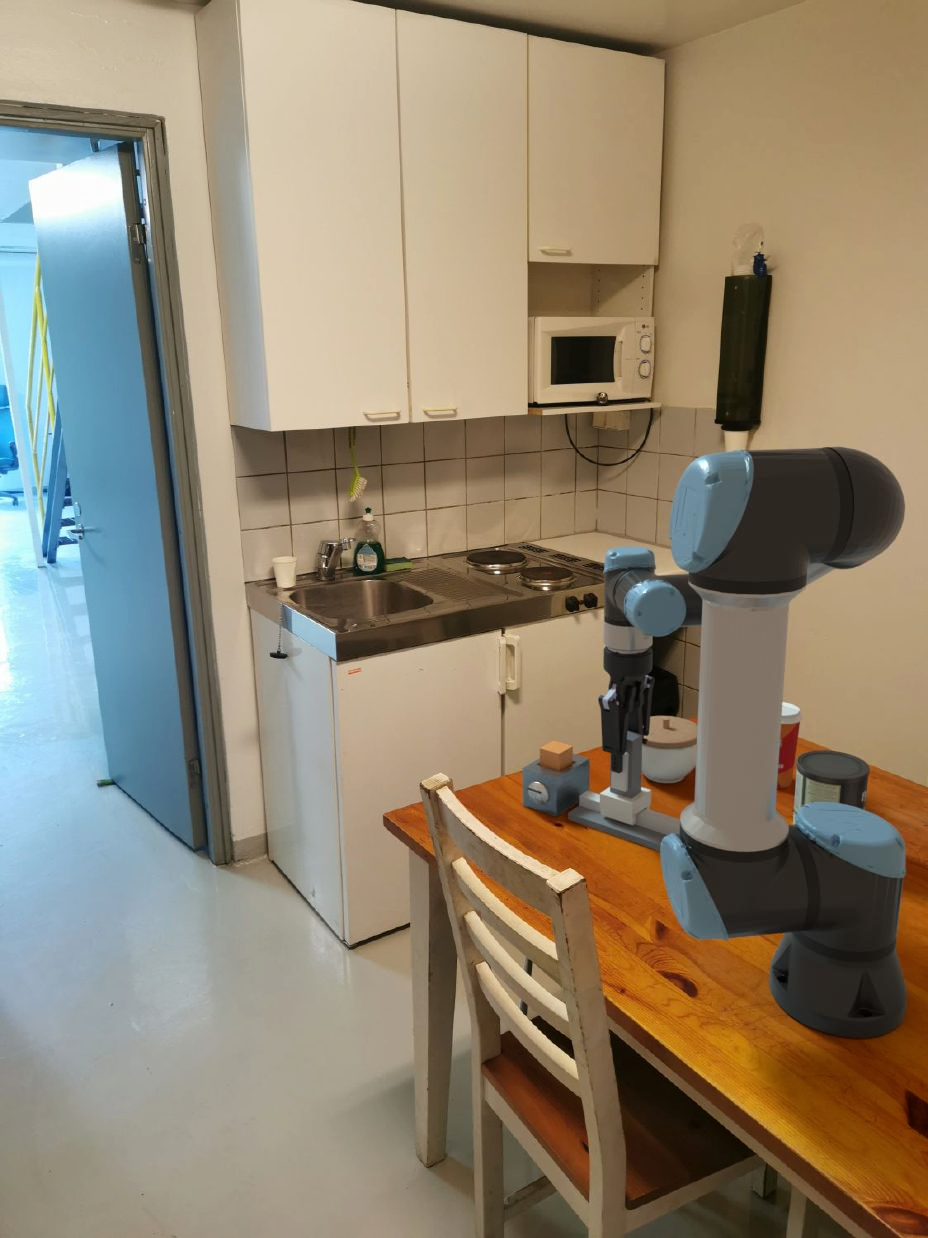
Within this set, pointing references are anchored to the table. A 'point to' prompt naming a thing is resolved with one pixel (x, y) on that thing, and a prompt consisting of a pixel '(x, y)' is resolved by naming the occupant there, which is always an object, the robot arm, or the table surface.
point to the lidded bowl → (669, 749)
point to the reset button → (556, 756)
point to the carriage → (636, 797)
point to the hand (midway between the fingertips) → (625, 784)
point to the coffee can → (830, 779)
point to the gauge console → (555, 786)
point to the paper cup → (788, 743)
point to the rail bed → (643, 832)
